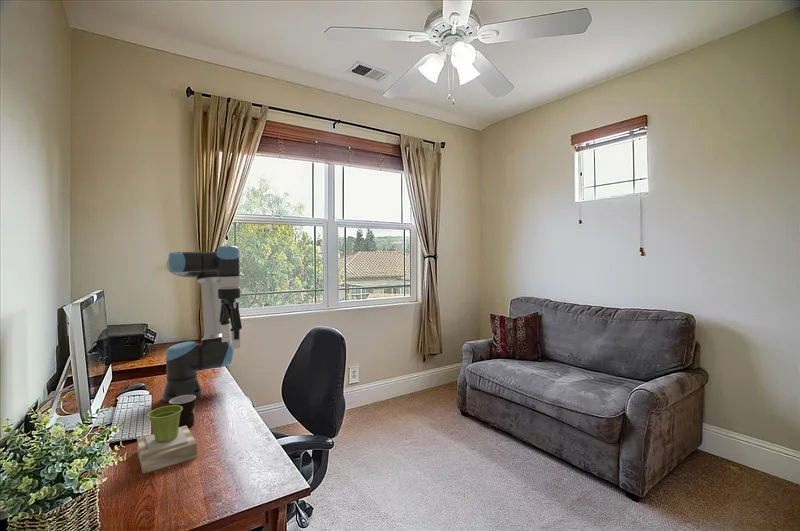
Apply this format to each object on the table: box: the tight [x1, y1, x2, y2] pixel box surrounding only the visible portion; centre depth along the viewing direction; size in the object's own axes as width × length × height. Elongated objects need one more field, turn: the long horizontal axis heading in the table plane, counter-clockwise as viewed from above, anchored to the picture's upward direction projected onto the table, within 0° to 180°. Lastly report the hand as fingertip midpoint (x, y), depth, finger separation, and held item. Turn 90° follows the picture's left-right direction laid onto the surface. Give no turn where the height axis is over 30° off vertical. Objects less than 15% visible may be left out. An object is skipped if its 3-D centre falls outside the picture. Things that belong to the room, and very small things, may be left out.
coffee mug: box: [168, 395, 197, 429], centre depth 143 cm, size 12×9×10 cm
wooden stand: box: [136, 425, 198, 474], centre depth 121 cm, size 16×14×5 cm
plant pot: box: [147, 405, 183, 442], centre depth 122 cm, size 9×9×9 cm
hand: (230, 344), depth 144 cm, fingers open, 13 cm apart
